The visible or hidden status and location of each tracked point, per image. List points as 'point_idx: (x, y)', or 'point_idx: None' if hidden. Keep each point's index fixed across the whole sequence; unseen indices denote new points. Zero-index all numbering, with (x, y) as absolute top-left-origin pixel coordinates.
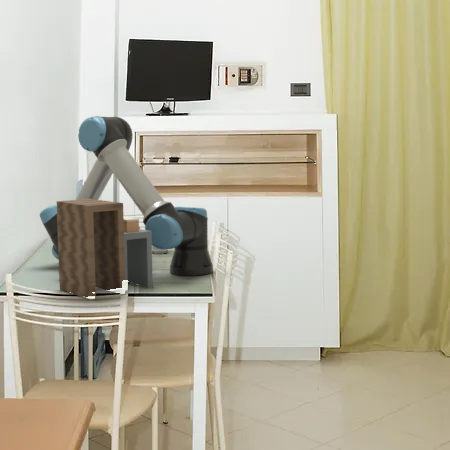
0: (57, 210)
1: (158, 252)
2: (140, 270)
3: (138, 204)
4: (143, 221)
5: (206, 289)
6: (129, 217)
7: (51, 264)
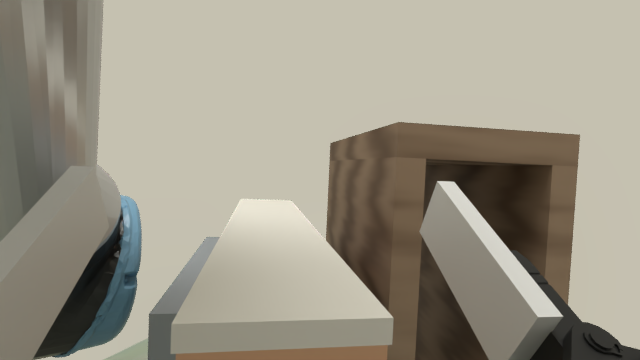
0: (570, 179)
1: None
2: None
3: (88, 157)
4: (98, 248)
5: (137, 347)
6: (241, 205)
7: None
